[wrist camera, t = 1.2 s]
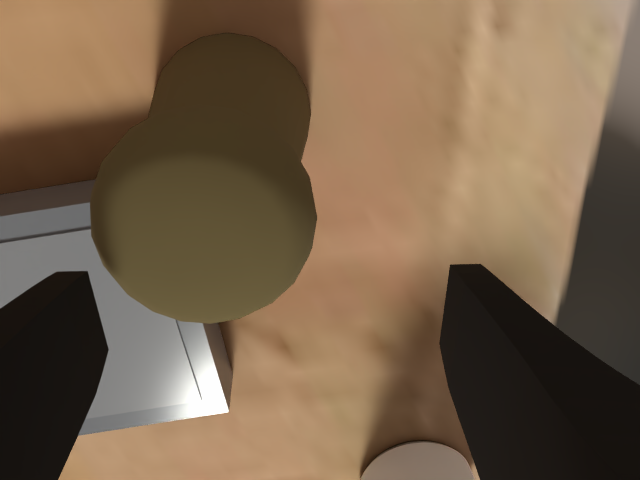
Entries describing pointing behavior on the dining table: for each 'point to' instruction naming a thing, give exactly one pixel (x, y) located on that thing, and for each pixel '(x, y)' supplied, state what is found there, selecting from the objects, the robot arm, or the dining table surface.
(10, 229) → the grey flat square block
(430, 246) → the dining table surface
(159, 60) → the dining table surface
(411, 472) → the can
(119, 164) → the olive bowling pin
